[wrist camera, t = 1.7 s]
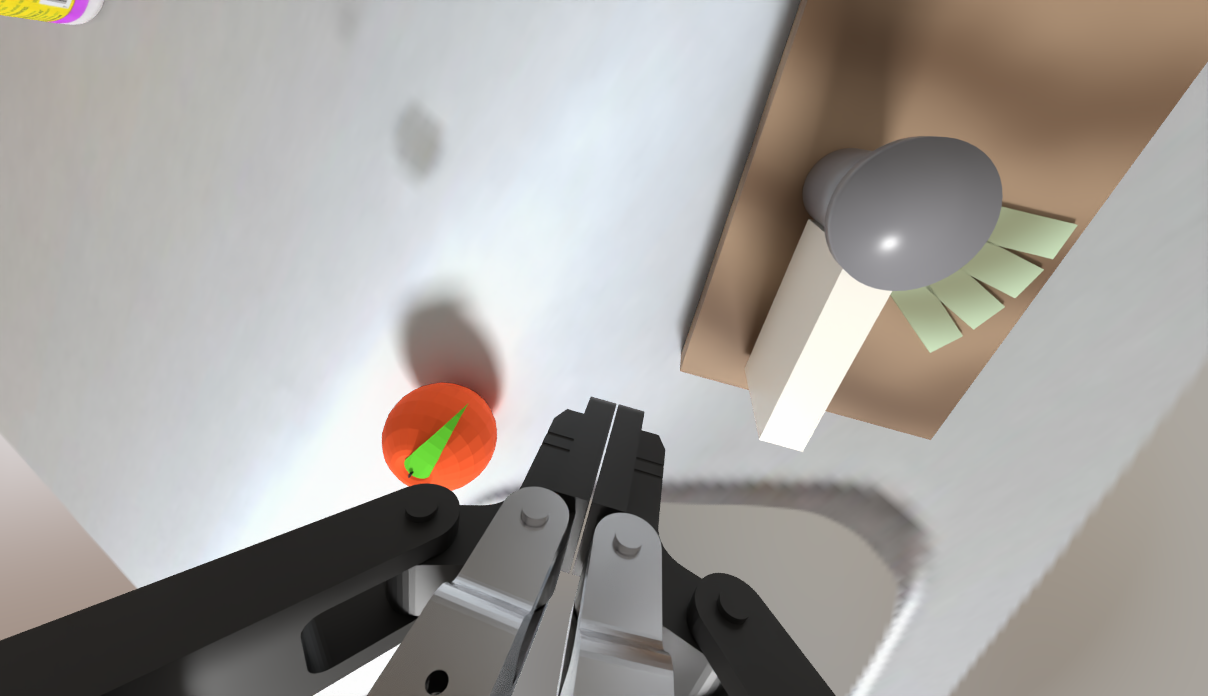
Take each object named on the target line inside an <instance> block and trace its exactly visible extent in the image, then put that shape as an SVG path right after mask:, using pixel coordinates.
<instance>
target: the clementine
mask: <svg viewBox="0 0 1208 696" xmlns="http://www.w3.org/2000/svg"><path fill="white" fill-rule="evenodd" d="M496 441H497V429H496V421H495V418H494V416H493V414H492V411H491V410H490V408H489V406H488V405H487V404H486V402H485V401H484V399H482V398H481V397H480V396H479V395H478V394H477V393H476V392H474V391H472V390H470V389H469V388H466V387H463V386H460V385H457V384H453V383H443V382H441V383H435V384H429V385H425V386H422V387H420V388H418V389H415V390H413V391H412V392H410V393H409V394H407V395H406V396H404V397H403V398H402V399H401V400H400V401H399V402H398V403H397V404H396V405H395V407H394V408H393V409H392V411H391V412H390V413H389V415H388V418H387V420H386V423H385V426H384V429H383V432H382V448H383V454H384V458H385V461H386V463H387V465H388V467H389V468H390V470H391V471H392V472H393V473H394V474H395V476H396V477H397V478H398V479H399V480H400V481H402V482H403V483H404V484H406V485H408V486H412V485H416V484H424V483H430V484H437V485H441V486H444V487H446V488H448V489H449V490H451V491H452V490H455V489H458V488H461V487H463V486H464V485H466V484H468V483H469V482H471V481H472V480H474V479H475V478H476V477H477V476H479V475H480V473H481V472H482V471H483V470H484V469H485V468H486V466H487V464H488V463H489V461H490V460H491V458H492V455H493V452H494V450H495V446H496Z"/></svg>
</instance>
